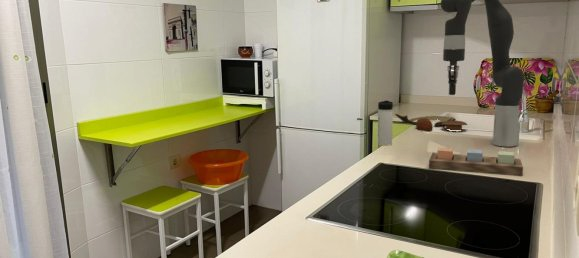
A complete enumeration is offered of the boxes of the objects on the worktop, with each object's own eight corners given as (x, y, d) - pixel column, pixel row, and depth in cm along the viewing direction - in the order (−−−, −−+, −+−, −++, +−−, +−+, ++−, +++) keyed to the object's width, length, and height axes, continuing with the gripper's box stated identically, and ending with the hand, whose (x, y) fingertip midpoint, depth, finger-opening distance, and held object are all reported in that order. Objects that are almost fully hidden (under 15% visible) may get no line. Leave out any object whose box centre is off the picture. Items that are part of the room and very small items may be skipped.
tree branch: (451, 132, 228) (452, 117, 226) (392, 128, 242) (392, 114, 240) (458, 125, 247) (458, 111, 245) (403, 122, 261) (403, 109, 260)
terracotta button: (452, 157, 166) (453, 148, 166) (451, 160, 162) (452, 151, 161) (438, 156, 168) (438, 147, 168) (437, 159, 164) (437, 150, 163)
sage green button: (513, 161, 159) (513, 152, 158) (514, 164, 154) (514, 155, 154) (497, 160, 161) (498, 151, 160) (497, 163, 156) (498, 154, 156)
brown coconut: (456, 120, 231) (455, 132, 231) (436, 120, 227) (436, 132, 227) (472, 121, 219) (472, 133, 220) (452, 121, 215) (451, 134, 216)
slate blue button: (482, 159, 163) (482, 150, 162) (482, 162, 158) (482, 153, 157) (467, 158, 164) (467, 149, 164) (466, 161, 160) (467, 152, 159)
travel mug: (392, 145, 201) (393, 100, 197) (391, 148, 195) (392, 102, 191) (378, 144, 203) (379, 100, 199) (376, 147, 197) (377, 102, 193)
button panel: (519, 167, 161) (520, 158, 161) (522, 175, 151) (523, 167, 150) (432, 160, 173) (432, 153, 172) (428, 168, 162) (429, 160, 162)
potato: (429, 136, 221) (414, 129, 222) (425, 135, 233) (411, 127, 233) (436, 123, 220) (422, 115, 221) (432, 122, 232) (418, 114, 233)
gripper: (444, 48, 175) (443, 92, 178) (442, 48, 163) (440, 96, 166) (465, 47, 172) (463, 93, 175) (464, 47, 160) (462, 96, 163)
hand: (452, 94), depth 171 cm, fingers closed
